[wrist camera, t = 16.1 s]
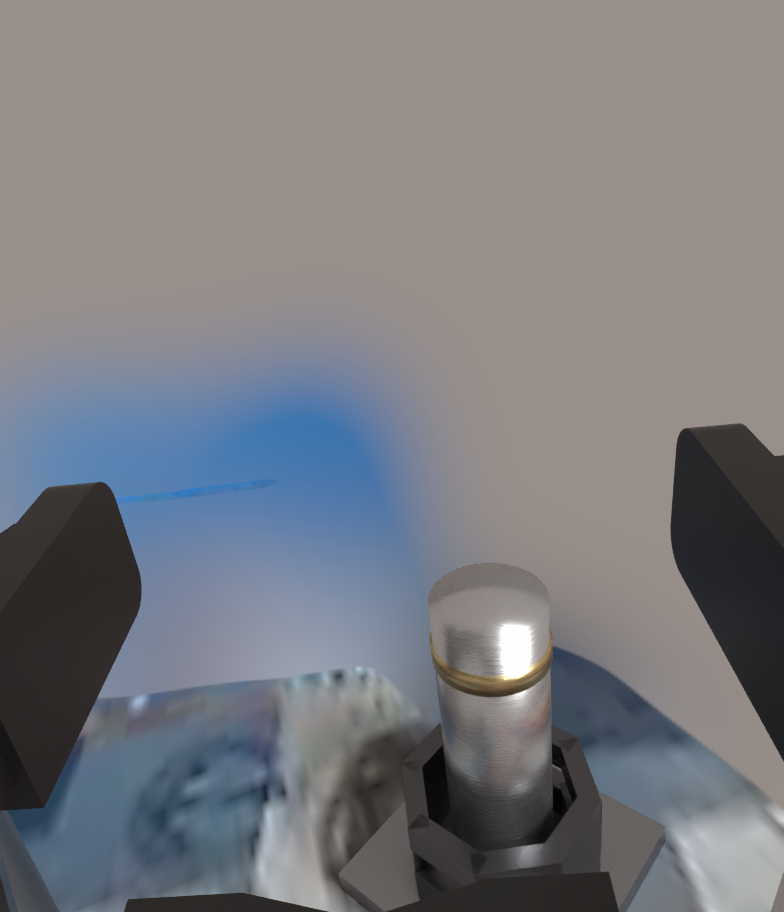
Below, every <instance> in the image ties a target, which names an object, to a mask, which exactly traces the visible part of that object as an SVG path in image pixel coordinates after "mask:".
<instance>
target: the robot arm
mask: <svg viewBox="0 0 784 912" xmlns="http://www.w3.org/2000/svg"><path fill="white" fill-rule="evenodd" d="M671 543H672V549H673V554H674V558H675V561H676V564H677V567H678V569H679V572H680V573H681V575H682V577H683V579H684V581H685V583H686V585H687V586H688V588H689V590H690V591H691V594H692V595H693V597H694V599H695V601H696V603H697V604H698V606H699V608H700V610H701V612H702V614H703V615H704V617H705V619H706V621H707V623H708V624H709V626H710V628H711V630H712V632H713V634H714V635H715V637H716V639H717V641H718V643H719V644H720V646H721V648H722V650H723V652H724V654H725V655H726V657H727V659H728V661H729V663H730V665H731V666H732V668H733V670H734V672H735V674H736V675H737V677H738V679H739V681H740V683H741V684H742V686H743V688H744V690H745V692H746V694H747V695H748V697H749V699H750V701H751V703H752V705H753V706H754V708H755V710H756V712H757V713H758V715H759V717H760V719H761V721H762V723H763V724H764V726H765V728H766V730H767V732H768V733H769V735H770V737H771V739H772V741H773V743H774V744H775V746H776V748H777V750H778V751H779V754H780V755H781V757H782V759H783V761H784V455H782V456H774V455H773V454H772V453H771V452H770V451H769V450H768V449H767V448H766V447H765V446H764V445H763V444H762V443H761V442H760V441H759V440H758V439H757V438H756V436H755V435H754V434H753V433H752V432H751V431H750V430H749V429H748V428H747V427H746V426H744V425H743V424H728V425H717V426H707V427H696V428H685V429H683V430H682V431H681V432H680V434H679V437H678V441H677V447H676V460H675V474H674V486H673V500H672V514H671ZM140 602H141V578H140V573H139V569H138V566H137V563H136V560H135V557H134V554H133V551H132V548H131V545H130V542H129V539H128V536H127V533H126V530H125V527H124V524H123V521H122V518H121V514H120V511H119V508H118V505H117V502H116V499H115V497H114V494H113V493H112V491H111V489H110V488H109V486H107V485H106V484H105V483H103V482H97V483H86V484H75V485H64V486H54V487H49V488H47V489H45V490H44V491H43V492H42V494H41V495H40V496H39V497H38V498H37V500H36V501H35V502H34V503H33V504H32V506H31V507H30V508H29V509H28V510H27V511H26V513H25V514H24V515H23V516H22V517H21V519H20V520H19V521H18V522H17V523H16V524H13V525H12V526H10V527H9V528H8V529H6V530H5V531H3V532H2V533H0V912H59V910H58V908H57V906H56V904H55V902H54V900H53V898H52V896H51V895H50V893H49V891H48V889H47V887H46V885H45V883H44V881H43V879H42V877H41V875H40V873H39V871H38V869H37V868H36V866H35V864H34V862H33V860H32V858H31V856H30V854H29V852H28V850H27V848H26V846H25V844H24V842H23V841H22V839H21V837H20V835H19V833H18V831H17V829H16V827H15V825H14V823H13V821H12V819H11V817H10V815H9V814H8V812H7V810H17V809H32V808H44V807H45V805H46V803H47V800H48V798H49V796H50V794H51V792H52V790H53V788H54V786H55V784H56V782H57V780H58V778H59V776H60V774H61V771H62V769H63V767H64V765H65V763H66V761H67V759H68V757H69V755H70V753H71V751H72V749H73V747H74V745H75V742H76V740H77V738H78V736H79V734H80V732H81V730H82V728H83V726H84V724H85V722H86V720H87V718H88V716H89V713H90V711H91V709H92V707H93V705H94V703H95V701H96V699H97V697H98V695H99V692H100V691H101V689H102V686H103V684H104V682H105V680H106V678H107V676H108V674H109V672H110V670H111V668H112V666H113V664H114V661H115V660H116V657H117V655H118V653H119V651H120V649H121V647H122V645H123V643H124V641H125V639H126V637H127V635H128V633H129V630H130V628H131V626H132V624H133V622H134V620H135V618H136V616H137V614H138V611H139V607H140ZM124 912H327V911H322V910H318V909H313V908H309V907H304V906H300V905H295V904H291V903H286V902H282V901H277V900H273V899H268V898H264V897H259V896H255V895H250V894H246V893H230V894H213V895H196V896H179V897H161V898H144V899H128V901H127V904H126V907H125V911H124ZM386 912H619V909H618V905H617V902H616V898H615V894H614V890H613V886H612V882H611V878H610V874H609V872H592V873H575V874H558V875H541V876H523V877H506V878H489V879H484V880H481V881H478V882H475V883H472V884H469V885H466V886H463V887H460V888H457V889H454V890H451V891H447V892H444V893H441V894H438V895H435V896H432V897H429V898H426V899H423V900H420V901H417V902H414V903H411V904H408V905H404V906H401V907H398V908H395V909H392V910H389V911H386ZM771 912H784V873H783V876H782V879H781V882H780V885H779V888H778V891H777V894H776V897H775V900H774V903H773V907H772V910H771Z"/></svg>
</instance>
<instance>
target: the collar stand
mask: <svg viewBox="0 0 784 912" xmlns="http://www.w3.org/2000/svg"><path fill="white" fill-rule="evenodd" d="M551 733H552V764H553V765H555V766H557V767H559V768H561V770H562V771H561V770H559V769H557V768H555V767H553V766H552V785H553V833H552V834H551V835H550V837H549V838H548V840H547V841H546V843H542V844H535V845H528V846H521V847H514V848H507V849H500V850H493V851H486V852H479V851H477V850H476V849H474V848H473V847H471V846H470V845H468V844H467V843H465V842H464V841H462V840H461V839H459V838H458V837H456V836H455V835H453V831H452V822H451V812H450V803H449V793H448V784H447V775H446V765H445V756H444V747H443V737H442V728H441V722H440V723H439V724H438V726H437V727H436V728H435V729H434V730H433V731H432V732H431V733H430V734H429V735H428V736H427V737H426V738H425V739H424V740H423V741H422V742H421V743H420V744H419V745H418V746H417V747H416V748H415V750H414V751H413V752H412V753H411V754H410V755H409V756H408V757H407V758H406V759H405V760H404V761H403V762H402V763H401V767H402V774H403V784H404V794H405V801H404V802H403V803H402V804H401V805H400V806H399V808H398V809H397V810H396V811H395V812H394V813H393V814H392V815H391V816H390V817H389V819H388V820H387V821H386V822H385V823H384V824H383V825H382V826H381V827H380V828H379V830H378V831H377V832H376V833H375V834H374V835H373V836H372V837H371V838H370V839H369V840H368V842H367V843H366V844H365V845H364V846H363V847H362V848H361V849H360V850H359V851H358V853H357V854H356V855H355V856H354V857H353V858H352V859H351V860H350V861H349V862H348V864H347V865H346V866H345V867H344V868H343V869H342V870H341V871H340V872H339V873H338V875H339V879H340V884H341V888H342V889H343V890H344V891H345V892H347V893H348V894H349V895H350V896H351V897H353V898H354V899H355V900H356V901H358V902H359V903H360V904H361V905H362V906H364V907H365V908H366V909H367V910H369V911H370V912H386V911H389V910H392V909H395V908H398V907H401V906H404V905H408V904H411V903H414V902H417V901H420V900H423V899H426V898H429V897H432V896H435V895H438V894H441V893H444V892H447V891H451V890H454V889H457V888H460V887H463V886H466V885H469V884H472V883H475V882H478V881H481V880H484V879H489V878H506V877H523V876H541V875H558V874H575V873H592V872H609V874H610V878H611V882H612V886H613V890H614V894H615V898H616V902H617V905H618V909H619V912H626V910H627V908H628V907H629V905H630V903H631V901H632V899H633V898H634V896H635V894H636V892H637V891H638V889H639V887H640V885H641V884H642V882H643V880H644V878H645V876H646V875H647V873H648V871H649V869H650V868H651V866H652V864H653V862H654V860H655V859H656V857H657V855H658V853H659V852H660V850H661V848H662V846H663V844H664V843H665V830H666V827H665V826H663V825H661V824H659V823H657V822H655V821H653V820H652V819H650V818H648V817H646V816H644V815H642V814H640V813H639V812H637V811H635V810H633V809H631V808H629V807H627V806H626V805H624V804H622V803H620V802H618V801H616V800H614V799H613V798H611V797H609V796H607V795H605V794H603V793H601V792H600V791H598V790H597V788H596V785H595V782H594V780H593V777H592V774H591V772H590V769H589V767H588V764H587V761H586V759H585V756H584V753H583V751H582V748H581V745H580V743H579V739H578V738H576V737H574V736H572V735H570V734H568V733H566V732H564V731H562V730H560V729H558V728H556V727H554V726H552V725H551Z"/></svg>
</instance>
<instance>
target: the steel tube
mask: <svg viewBox="0 0 784 912" xmlns="http://www.w3.org/2000/svg"><path fill="white" fill-rule="evenodd" d="M428 606H429V615H430V625H431V633H430V647H431V656H432V663H433V666H434V669H435V672H436V680H437V690H438V700H439V709H440V718H441V728H442V737H443V747H444V756H445V765H446V775H447V784H448V793H449V803H450V812H451V822H452V831H453V835H455V836H456V837H458V838H459V839H461V840H462V841H464V842H465V843H467V844H468V845H470V846H471V847H473V848H474V849H476V850H477V851H479V852H486V851H493V850H500V849H507V848H514V847H521V846H528V845H535V844H542V843H546V841H547V840H548V838H549V837H550V835H551V834H552V833H553V785H552V733H551V681H550V666H551V663H552V632H551V629H550V627H549V596H548V592H547V589H546V587H545V585H544V584H543V583H542V582H541V581H540V580H539V579H538V578H537V577H536V576H534V575H533V574H531V573H530V572H528V571H526V570H523V569H521V568H518V567H515V566H511V565H506V564H497V563H483V564H475V565H469V566H465V567H462V568H459V569H456V570H454V571H452V572H450V573H448V574H446V575H445V576H443V577H442V578H441V579H439V580H438V581H437V582H436V583H435V585H434V586H433V587H432V589H431V591H430V593H429V598H428Z"/></svg>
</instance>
